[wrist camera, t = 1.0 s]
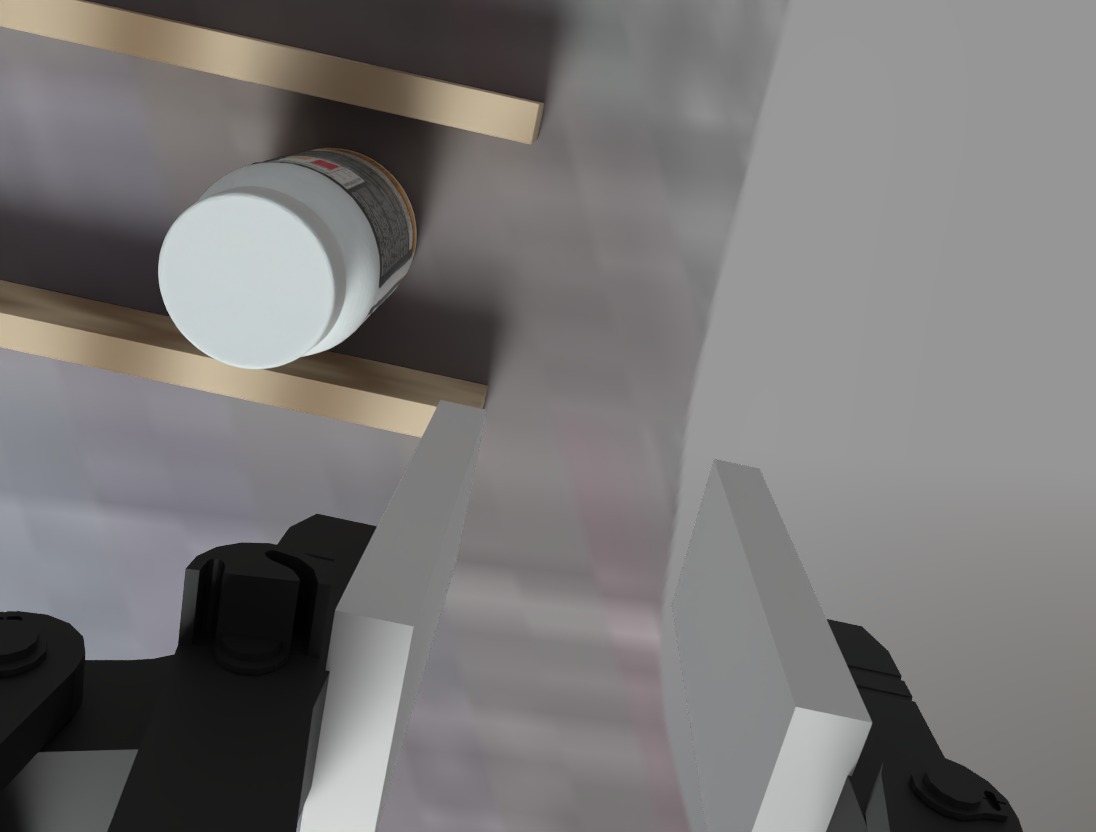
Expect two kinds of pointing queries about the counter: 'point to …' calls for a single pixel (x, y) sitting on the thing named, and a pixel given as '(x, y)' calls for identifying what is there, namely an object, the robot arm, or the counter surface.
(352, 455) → the counter surface
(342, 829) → the robot arm
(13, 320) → the bay
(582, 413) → the counter surface
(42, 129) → the counter surface
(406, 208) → the pill bottle
